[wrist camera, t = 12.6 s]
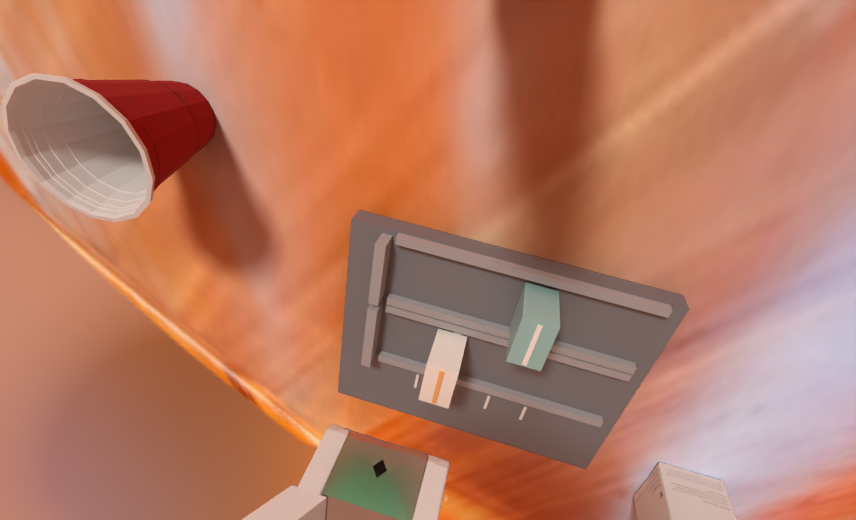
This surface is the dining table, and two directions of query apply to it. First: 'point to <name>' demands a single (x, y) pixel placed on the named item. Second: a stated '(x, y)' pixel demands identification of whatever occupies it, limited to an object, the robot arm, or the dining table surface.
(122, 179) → the plastic cup
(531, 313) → the fader
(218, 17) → the dining table surface
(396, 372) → the console
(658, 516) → the supplement box
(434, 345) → the fader
